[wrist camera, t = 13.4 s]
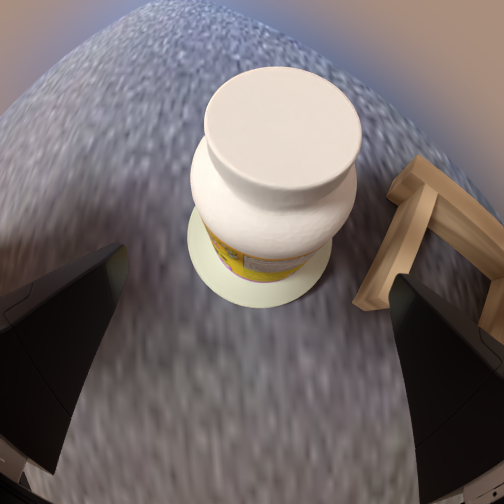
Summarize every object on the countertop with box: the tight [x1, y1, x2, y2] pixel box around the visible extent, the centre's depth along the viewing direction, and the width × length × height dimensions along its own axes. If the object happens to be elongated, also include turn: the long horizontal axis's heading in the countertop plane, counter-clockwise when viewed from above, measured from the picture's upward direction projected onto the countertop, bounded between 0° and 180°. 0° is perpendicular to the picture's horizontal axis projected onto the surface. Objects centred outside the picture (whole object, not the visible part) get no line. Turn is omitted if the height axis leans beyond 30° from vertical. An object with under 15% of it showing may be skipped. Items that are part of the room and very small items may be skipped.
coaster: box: [187, 205, 332, 308], centre depth 21 cm, size 10×10×1 cm
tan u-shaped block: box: [352, 154, 504, 345], centre depth 19 cm, size 11×16×4 cm
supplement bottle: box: [190, 67, 362, 283], centre depth 14 cm, size 7×7×13 cm
